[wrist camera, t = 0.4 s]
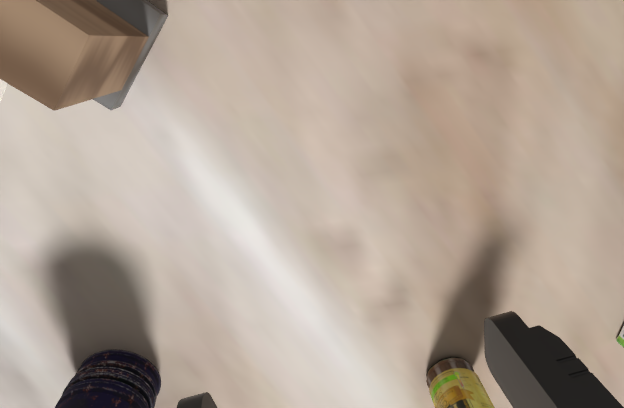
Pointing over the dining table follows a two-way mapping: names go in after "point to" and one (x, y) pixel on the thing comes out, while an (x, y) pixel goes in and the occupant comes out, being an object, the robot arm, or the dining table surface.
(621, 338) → the syrup box
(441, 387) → the sauce bottle
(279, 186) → the dining table surface
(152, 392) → the storage jar
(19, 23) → the block
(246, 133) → the dining table surface
